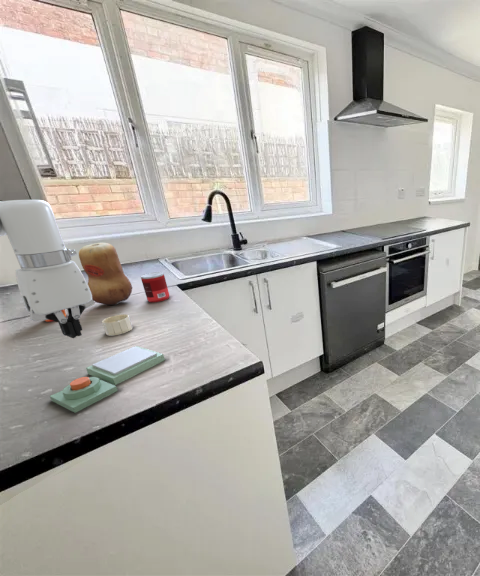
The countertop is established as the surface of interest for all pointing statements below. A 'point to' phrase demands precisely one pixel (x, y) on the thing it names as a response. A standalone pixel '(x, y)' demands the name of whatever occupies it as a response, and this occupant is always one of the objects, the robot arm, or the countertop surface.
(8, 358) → the countertop surface
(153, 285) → the canned food
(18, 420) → the countertop surface
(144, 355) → the scale
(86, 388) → the pad
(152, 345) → the countertop surface
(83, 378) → the button
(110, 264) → the butternut squash
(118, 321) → the bowl
